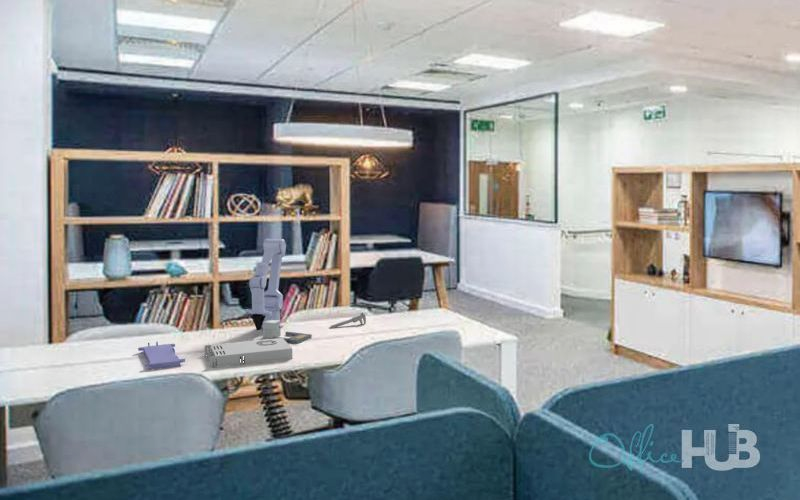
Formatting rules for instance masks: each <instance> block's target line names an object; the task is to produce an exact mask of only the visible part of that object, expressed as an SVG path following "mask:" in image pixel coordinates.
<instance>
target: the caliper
mask: <svg viewBox="0 0 800 500" xmlns="http://www.w3.org/2000/svg"><path fill="white" fill-rule="evenodd" d="M357 322H359V323H360V324H361V325H363V324H366V323H367V318H366V314H365V313H364V311H362V312H360V314H359V315H356V316H354V317H352V318H350V319H346V320H343V321H340V322H338V323H334V324H331V325H330V326H329V327H328V329H335V328H338V327H342V326H345V325H347V324H350V323H353V324H354V323H357Z"/></svg>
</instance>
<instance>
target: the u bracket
mask: <svg viewBox="0 0 800 500" xmlns="http://www.w3.org/2000/svg"><path fill="white" fill-rule="evenodd" d="M284 334H285V336H287V337H281V336H278V337H272V338H271V339H275V338H283V339H284V340H285V341H286V342H287V343H288V344H295V345H296V344H300V343H301V342H305V341H308V340H310V339H312V336H313V335H312V334H311V333H301V332H294V331H285V333H284ZM288 337H289V338H288Z"/></svg>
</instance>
